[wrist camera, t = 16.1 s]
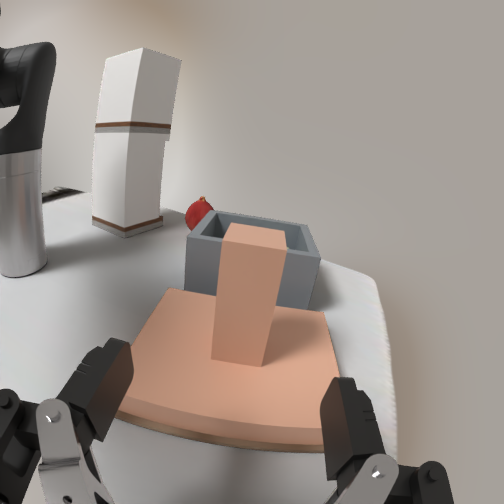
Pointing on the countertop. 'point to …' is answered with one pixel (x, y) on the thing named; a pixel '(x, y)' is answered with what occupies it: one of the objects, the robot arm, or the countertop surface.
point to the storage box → (217, 223)
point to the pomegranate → (197, 212)
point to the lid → (235, 352)
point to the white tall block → (132, 140)
